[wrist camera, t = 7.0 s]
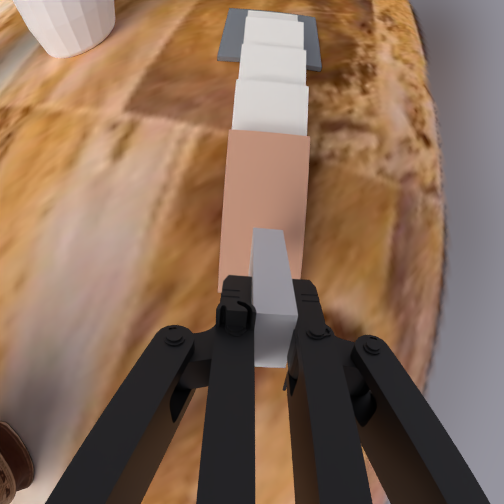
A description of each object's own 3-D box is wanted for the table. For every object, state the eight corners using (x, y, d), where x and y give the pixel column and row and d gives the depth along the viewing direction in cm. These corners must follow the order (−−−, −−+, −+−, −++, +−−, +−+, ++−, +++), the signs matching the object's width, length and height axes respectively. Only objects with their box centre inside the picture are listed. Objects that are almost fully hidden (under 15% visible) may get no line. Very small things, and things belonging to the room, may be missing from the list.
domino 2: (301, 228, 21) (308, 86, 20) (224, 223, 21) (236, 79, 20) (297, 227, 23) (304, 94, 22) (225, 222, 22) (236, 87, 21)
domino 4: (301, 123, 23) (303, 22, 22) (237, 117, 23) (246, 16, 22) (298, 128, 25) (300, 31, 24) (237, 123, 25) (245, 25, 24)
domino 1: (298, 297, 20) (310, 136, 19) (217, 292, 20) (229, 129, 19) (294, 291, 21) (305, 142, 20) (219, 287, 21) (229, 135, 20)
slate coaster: (320, 71, 27) (321, 67, 27) (217, 60, 27) (217, 56, 26) (314, 21, 30) (315, 17, 29) (229, 12, 30) (229, 8, 29)
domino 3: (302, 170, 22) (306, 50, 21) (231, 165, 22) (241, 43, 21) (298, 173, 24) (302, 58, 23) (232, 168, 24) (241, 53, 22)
